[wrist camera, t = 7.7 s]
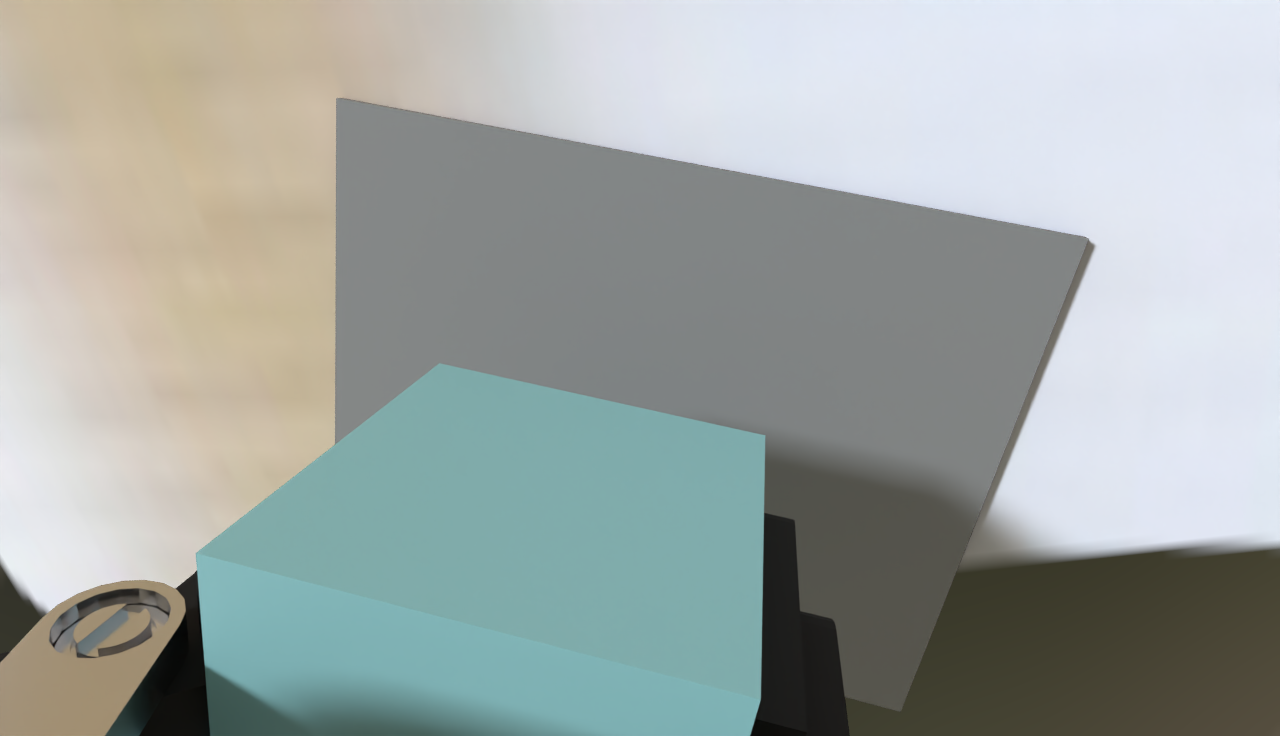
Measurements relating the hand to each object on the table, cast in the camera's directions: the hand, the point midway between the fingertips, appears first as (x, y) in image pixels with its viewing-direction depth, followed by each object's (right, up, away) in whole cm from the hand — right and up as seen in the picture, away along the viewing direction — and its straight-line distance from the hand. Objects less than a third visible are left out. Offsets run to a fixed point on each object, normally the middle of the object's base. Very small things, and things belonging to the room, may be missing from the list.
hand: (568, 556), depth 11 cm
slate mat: (+1, +2, +4) cm, 5 cm away
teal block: (0, 0, 0) cm, 1 cm away
